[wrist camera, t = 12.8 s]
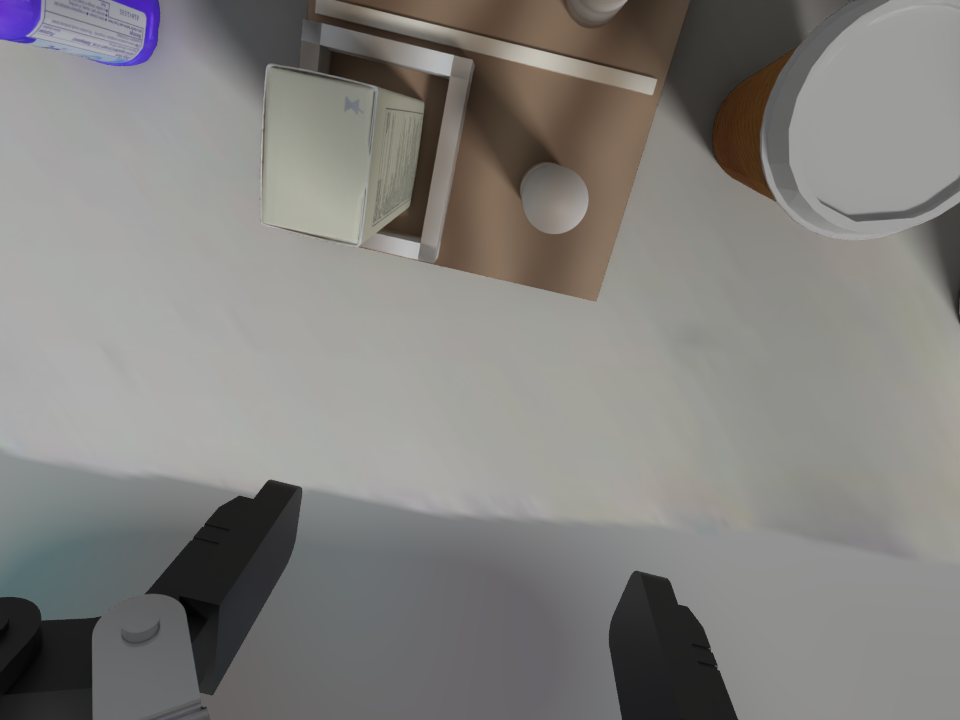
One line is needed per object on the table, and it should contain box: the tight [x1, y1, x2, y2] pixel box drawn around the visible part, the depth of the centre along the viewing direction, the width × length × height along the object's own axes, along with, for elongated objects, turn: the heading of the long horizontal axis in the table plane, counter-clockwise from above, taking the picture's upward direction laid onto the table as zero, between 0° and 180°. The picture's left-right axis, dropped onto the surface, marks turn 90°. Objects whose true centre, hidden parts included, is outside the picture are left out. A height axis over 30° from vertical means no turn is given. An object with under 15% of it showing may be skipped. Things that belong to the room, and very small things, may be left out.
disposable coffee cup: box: [712, 0, 960, 240], centre depth 27 cm, size 10×10×12 cm
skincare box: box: [260, 63, 424, 247], centre depth 26 cm, size 6×4×12 cm
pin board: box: [299, 0, 690, 301], centre depth 28 cm, size 20×20×10 cm
